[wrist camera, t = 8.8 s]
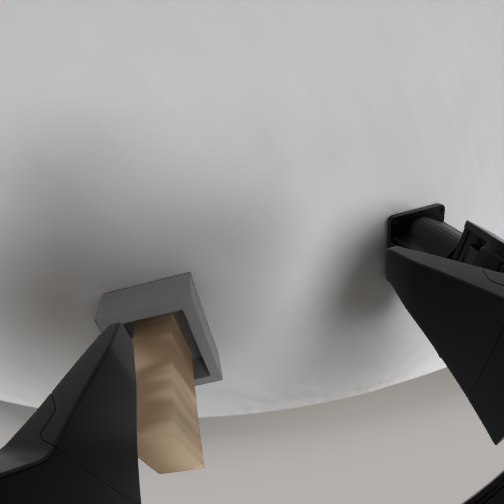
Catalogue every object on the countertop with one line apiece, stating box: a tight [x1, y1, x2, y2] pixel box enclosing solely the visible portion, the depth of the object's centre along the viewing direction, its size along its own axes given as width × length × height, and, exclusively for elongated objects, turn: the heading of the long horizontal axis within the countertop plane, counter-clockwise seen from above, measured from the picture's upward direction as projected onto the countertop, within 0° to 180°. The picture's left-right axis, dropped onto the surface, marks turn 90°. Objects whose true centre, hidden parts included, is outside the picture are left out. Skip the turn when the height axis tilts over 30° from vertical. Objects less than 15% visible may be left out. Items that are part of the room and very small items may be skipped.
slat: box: [132, 312, 204, 474], centre depth 18 cm, size 3×4×11 cm, turn 13°
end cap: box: [95, 272, 223, 386], centre depth 22 cm, size 7×9×3 cm
